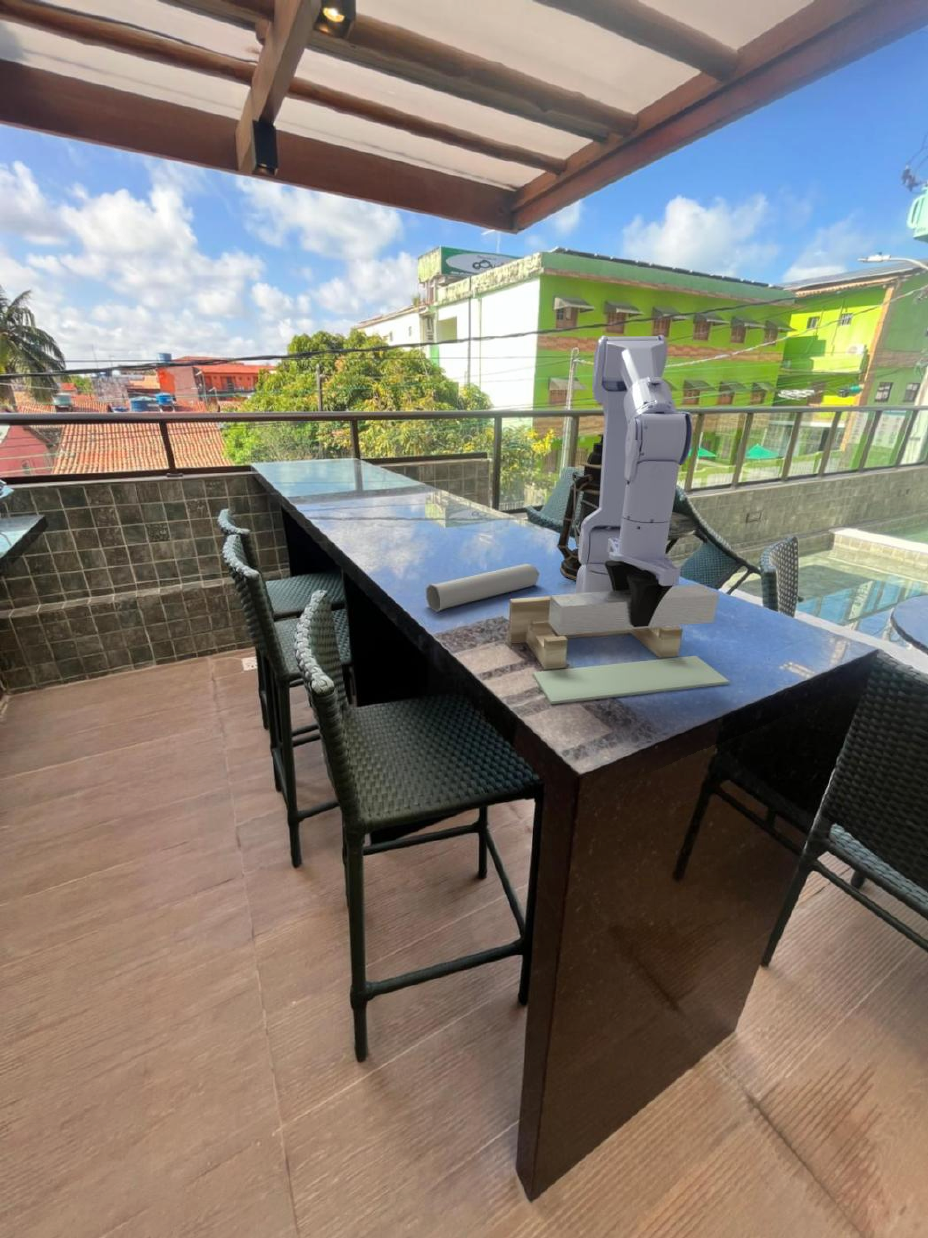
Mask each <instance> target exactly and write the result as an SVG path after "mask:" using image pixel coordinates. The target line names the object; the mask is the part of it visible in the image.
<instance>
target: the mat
mask: <svg viewBox="0 0 928 1238" xmlns="http://www.w3.org/2000/svg"><path fill="white" fill-rule="evenodd" d="M531 675H532V677H533V679H535V681H536V683H537V685H538V686H539V688H540V689H541V692H543V694H544V695H545V697H546V699H547V700H548V702H549V703H550V705H556V704H563V703H575V702H581V701H582V702H583V701H590V700H598V699H600V700H601V699H606V698H607V699H608V698H609V699H610V698H617V697H626V696H627V697H628V696H634V695H643V694H651V693H652V694H653V693H658V692H659V693H660V692H669V691H677V690H686V689H696V688H704V687H712V686H721V684H723V685H728V683H729V684H730V680H728V679H727V678H726V677H725V676H723V675H722V674H720V672H718V671H716V670H715V669H714V668H713V667H712V666H710V665H709V664H708V663H706V662H705V661H703V660H702V659H701V658H699V657H698V656H697V655H691V656H689V655H688V656H680V657H679V656H678V657H668V658H659V659H652V660H651V659H650V660H641V661H633V662H631V661H630V662H620V663H612V664H604V665H593V666H591V665H590V666H583V667H581V666H580V667H575V668H574V667H573V668H565V669H564V668H560V669H551V670H543V671H533V672H532V674H531ZM725 683H726V684H725Z"/></svg>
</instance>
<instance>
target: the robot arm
mask: <svg viewBox="0 0 928 1238" xmlns="http://www.w3.org/2000/svg"><path fill="white" fill-rule="evenodd" d="M593 355H594V357H593V370H592V371H593V372H592V388H591V389H592V393H593V395H592V396H593V397H592V398H593V399H594V400H595V401H596V402H598V403H600V404H601V405H602V409H603V417H604V423H603V425H604V426H603V434H604V437H603V453H602V469H601V484H600V500H599V508H598V509H597V510H596V511H595V512H593V513H592V514H590V515H589V516H587V517H586V518H585V519H584V520H583V522H582V524H581V533H580V534H579V536H580V537H579V544H578V546H579V547H577V548H578V557H579V562H580V563H581V564H582V565H581V567H580V568H579V570H578V573H577V581H575V582H576V583H575V590H574V591H575V592H574V594H576V593H590V592H604V591H618V590H630V591H631V601H632V604H631V623H632V626H633V627H645V626H648V625H649V623H650V621H651V619H652V617H653V615H654V613H655V611H656V608H657V607H658V605H659V603H660V601H661V600H662V598H663V597H664V596H665V594H666V593H667V592H668V591H669V590H670V588H671V587H674V586H679V581H680V575H681V572H682V570H681V568H679V567H677V566H676V565H675V563H673V561H672V559H670V557H669V556H668V555H667V553H666V551H667V543H668V537H669V532H670V526H671V521H672V520H671V519H672V515H673V507H674V503H675V497H676V492H677V491H676V490H677V484H678V478H679V473H680V466H683V465H684V464H685V463H686V462H687V460H688V457H689V454H690V453H691V450H692V449H691V448H692V444H693V436H694V422H693V418H692V414H691V413H690V412H689V411H683V410H677V407H676V403H675V400H674V398H673V395H672V391H671V388H670V386H669V384H668V383H667V382H666V381H665V380H664V379H662V376H663V374H664V372H665V368H666V363H667V358H668V341H667V339H666V338H665V335H663V334H658V335H655V336H654V335H653V336H650V335H649V336H647V335H646V336H643V335H642V336H640V335H639V336H606V335H601V336H600V337H599V338H598V339H597V341H596V345H595V348H594V354H593ZM595 526H608V527H621V529H592V528H593V527H595Z"/></svg>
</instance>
